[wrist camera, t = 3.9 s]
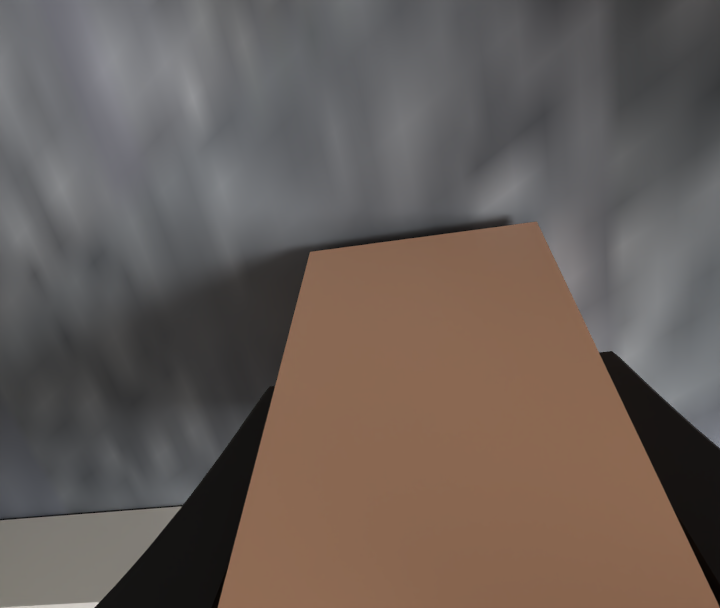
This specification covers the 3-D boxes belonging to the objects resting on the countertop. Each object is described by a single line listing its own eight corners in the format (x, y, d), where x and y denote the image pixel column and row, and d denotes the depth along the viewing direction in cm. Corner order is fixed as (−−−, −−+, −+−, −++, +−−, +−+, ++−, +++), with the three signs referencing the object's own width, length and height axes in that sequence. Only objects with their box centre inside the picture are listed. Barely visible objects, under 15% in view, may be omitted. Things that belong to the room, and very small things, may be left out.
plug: (536, 221, 10) (817, 813, 3) (539, 396, 12) (715, 974, 5) (310, 252, 11) (165, 813, 4) (350, 414, 13) (300, 960, 6)
